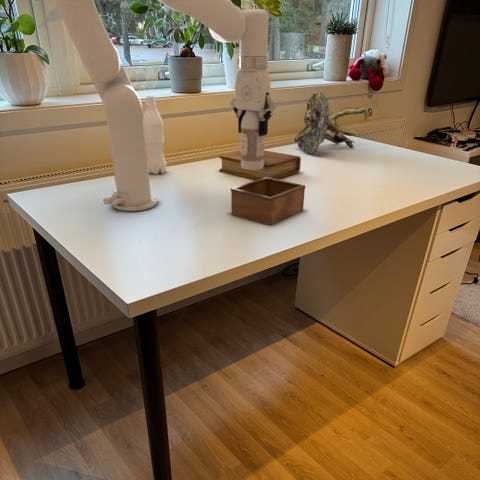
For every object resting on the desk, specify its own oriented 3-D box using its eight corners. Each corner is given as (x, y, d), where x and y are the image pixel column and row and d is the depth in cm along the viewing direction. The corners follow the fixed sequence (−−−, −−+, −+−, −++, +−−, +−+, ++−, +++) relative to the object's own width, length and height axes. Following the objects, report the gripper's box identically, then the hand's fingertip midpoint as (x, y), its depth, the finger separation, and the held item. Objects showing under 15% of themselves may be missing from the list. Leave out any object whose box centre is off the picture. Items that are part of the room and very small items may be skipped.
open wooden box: (270, 225, 118) (271, 198, 114) (230, 214, 126) (230, 188, 122) (303, 210, 128) (305, 185, 124) (265, 201, 136) (266, 176, 132)
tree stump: (341, 138, 174) (386, 121, 194) (303, 85, 176) (351, 73, 196) (306, 175, 193) (351, 156, 213) (272, 127, 194) (320, 112, 215)
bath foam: (236, 166, 138) (236, 93, 127) (256, 163, 141) (257, 92, 130) (247, 171, 133) (248, 96, 122) (267, 168, 136) (270, 94, 125)
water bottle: (169, 170, 168) (163, 95, 154) (164, 175, 162) (157, 98, 148) (150, 169, 168) (142, 95, 155) (145, 174, 162) (136, 98, 149)
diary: (300, 172, 165) (301, 156, 162) (267, 182, 153) (267, 165, 150) (253, 162, 178) (253, 147, 175) (219, 171, 166) (219, 155, 163)
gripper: (220, 63, 125) (222, 132, 134) (270, 65, 115) (268, 139, 124) (238, 62, 129) (238, 128, 139) (287, 64, 120) (284, 135, 129)
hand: (252, 133), depth 132 cm, fingers closed on bath foam, 7 cm apart
